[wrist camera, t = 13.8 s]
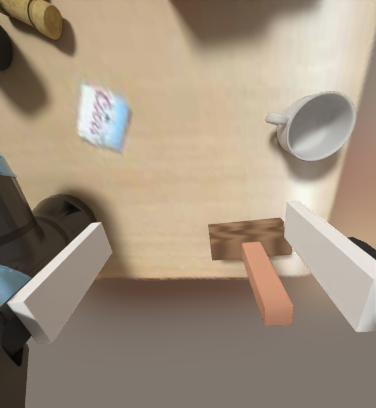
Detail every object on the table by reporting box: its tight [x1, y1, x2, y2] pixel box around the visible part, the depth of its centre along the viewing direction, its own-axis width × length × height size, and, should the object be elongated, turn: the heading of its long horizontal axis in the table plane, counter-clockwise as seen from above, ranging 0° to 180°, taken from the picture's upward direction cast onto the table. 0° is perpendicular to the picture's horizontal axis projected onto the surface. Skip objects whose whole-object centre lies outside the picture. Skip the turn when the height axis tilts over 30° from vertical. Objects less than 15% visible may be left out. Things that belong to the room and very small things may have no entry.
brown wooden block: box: [208, 218, 292, 260], centre depth 45 cm, size 18×7×7 cm, turn 98°
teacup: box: [265, 91, 356, 161], centre depth 34 cm, size 14×11×8 cm
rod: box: [242, 241, 294, 326], centre depth 35 cm, size 4×4×16 cm
